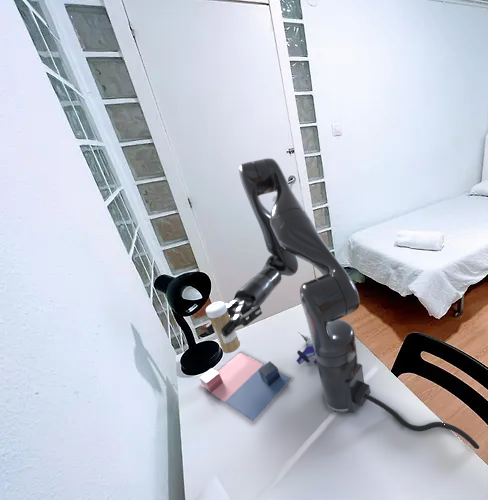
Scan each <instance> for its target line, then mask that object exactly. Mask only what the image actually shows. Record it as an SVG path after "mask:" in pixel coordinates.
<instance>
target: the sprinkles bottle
mask: <svg viewBox="0 0 488 500" xmlns="http://www.w3.org/2000/svg"><path fill="white" fill-rule="evenodd" d="M225 303H226V302H224V301H221V300H219V301H214V302H212V303H210V304H209V305H208V306H206V308H205V314H206V316H207V318H208V319H209V322H210V321H211V323H212V326H213V329H214V331H213V332H214V335H215V336H216V338H217V340H218V343H219V344H220V347H221V350H222V352H223V353H224V354H231V353H233V352H235V351H237V350H238V349H239V348H240V346H241V341H240V340H239V337H238V335H237V331H236V328H235V329H234V330H233V331H232V333H230V334H229V335H228V336H223V334H222V332H221V330H222V328H223V327H224V326H225V325H226V324H227V323H228V322H229V321H230V320H232V318H231V319H230V317H229V314H228V312H227V306H226V304H225Z"/></svg>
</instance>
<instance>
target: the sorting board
mask: <svg viewBox="0 0 488 500" xmlns="http://www.w3.org/2000/svg"><path fill="white" fill-rule="evenodd" d="M264 365H265V364H264V363H262V362H260V361H258V360H256V359H254V358H252V357H250V356H249V355H247V354H244V353H243V352H241V351H240V352H239V353H238V354H236V355H235V356H233V357H232V358H231V359H230V360H229V361H228V362H227V363H226V364H224V365H223V366H222V367H220V369H218V370H216V371H217V372H218V373H219V374H220V376H221V378H222V381H223V383H222V384H221V385H220V386H219V387H217V388H216V389H215V390H214V391H213V392H210V394H212V395H214V396H215V397H217V398H218V399H219V400H221V401H223V402H224V403H225V404H227V405H228V406H230V407H231V408H232V409H234V410H236V411H237V412H239V413H240V414H242V415H243V416H245V417H246V418H247V419H249V420H250V421H252V422H253V421H255V419H256V418H257V417H258V416H259V415H260V414H261V413H262V412H263V411H264V410H265V408H267V406H268V405H269V404H270V403H271V401H272V400H273V399H274V398H275V397H276V396H277V395H278V394H279V393H280V391H281V390H282V389H283V388H284V387H285V386H286V384H288V382H290V380H291V377H289V376H288V375H286V374H284V373H282V372H280V371H279V375H280V377H279V378H278V379H277V380H276V381H275V382H273V383H272V384H271V385H270V386H268V385H267V384H266V383H265V382H264V381H263V380H262V379H261V376H260V373H259V371H258V370H259V369H260V368H261V367H263V366H264ZM200 387H202V388H203V389H205V390H206V391H208V390H207V389H206V388H205V387H204V386H203V384H202V383H201V385H200Z"/></svg>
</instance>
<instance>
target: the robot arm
mask: <svg viewBox="0 0 488 500" xmlns="http://www.w3.org/2000/svg"><path fill="white" fill-rule="evenodd" d="M238 173H239V178H240V182H241V184H242V187H243V190H244V193H245V195H246V198H247V200H248V202H249V205H250V207H251V209H252V212H253V214H254V216H255V219H256V220H257V223H258V225H259V227H260V230H261V233H262V236H263V240H264V243H265V247H266V250H267V253H269V254H270V255H269V256H268V257H267V259H266V261H265V264H264V265H263V267H262V268H261V270H260V271H259V272H258V273H257V274H255V275H254V276H252V277H251V278H250V279H249V280H248V281H247V282H246V283H244V285H242V286H241V287H239V289H238V290H236V293H235V294H234V297H233V298H232V299H231V300H229V301H228V302H224V303H225V304H226V306H227V312H228V314H229V317H230V319H231V320H230V321H229V322H228V323H227V324H226V325H225V326H224V327H223V328H222V330H221V332H222V334H223V336H228V335H229V334H230V333H232V331H233V330H234V329H235V330H236V328H238V327H241V326H243V327H247V326H248V325H249V324H250V323H252V322H253V321H254V320H256V319H257V318H258V317H260V316H261V315H262V314H263V311H262V307H261V306H262V305H263V303H265V301H266V300H267V299H268V298H269V297H270V296H271V294H272V292H273V291H274V290H275V289H276V288H277V287H278V286H279V285H280V283H281V281H282V276H285V277H292V276H294V275H296V273H297V272H298V269H299V261H298V258H299V259H301V260H303V261H305V262H307V263H309V264H311V265H312V266H314V267H315V269H317V270H318V271H319V272H320V273H321V274H322V275H321V276H318V277H316V278H313V279H310V280H308V281H305V282H303V283H302V284H301V286H299V287H300V288H299V298H300V302H301V306H302V309H303V313H304V316H305V319H306V323H307V327H308V332H309V335H310V339H311V340H312V343H313V347H314V352H315V354H314V356H315V359H316V361H317V364H316V365H317V370H318V374H319V379H320V383H321V389H322V392H323V399H324V403H325V404H326V406H327V407H328V408H329V409H330V410H332V411H333V412H335V413H337V414H341V413H342V414H344V413H348V412H349V413H351V414H354V413H355V411H356V409H357V408H358V407H361V408H362V407H363V406H364V404H365V403H366V401H369V402H371V403H373V404H374V405H377V406H379V407H380V408H382V409H383V410H385V411H386V412H387V413H388V414H390V415H392V416H393V417H394V418H395V419H396V420H397V421H398V422H399V423H400V424H401V425H402V426H403V427H405V428H407V429H408V430H410V431H414V432H424V431H429V430H432V429H434V428H442V429H447V430H449V431H452V432H454V433H456V434H457V435H459V436H461V437H462V438H463V439H464V440H466V441H467V442H468V443H469V444H470V445H471V446H472V447H473V448H474V449H476V450H479V449H480V446H479V444H478V443H477V442H476V440H474V439H473V438H472V437H471V436H470V435H469V434H468V433H467V432H465V431H464V430H462V429H461V428H460V427H457V426H455V425H453V424H450V423H447V422H443V421H433V422H428V423H427V424H423V425H416V424H415V425H414V424H412V423H409V422H407V421H406V420H405V419H404V418H403V417H402V416H401V415H400V414H398V412H397V411H395V410H394V409H393V408H392V407H390V406H388V405H387V404H385V403H384V402H383V401H381V400H379V399H378V398H376V397H374V396H372V395H370V394H371V387H370V384H367V383H366V382H365V377H364V369H363V368H364V367H363V364H361V363H360V362H359V360H358V352H357V343H356V335H355V330H354V328H353V326H352V325H351V323H349V322H348V321H346V320H344V319H342V318H344V317H347V316H348V315H350V314H352V313H354V312H356V311H357V310H358V309H359V308H360V305H361V300H360V299H361V298H360V295H359V292H358V289H357V287H356V285H355V283H354V281H353V279H352V278H351V277H350V275H349V273H348V272H347V271H346V269H345V268H344V267H343V265H342V264H341V263H340V262H339V260H338V259H337V258H336V257H335V255H334V254H333V253H332V252H331V250H330V248H329V247H328V246H327V244H326V243H325V241H324V240H323V238H322V237H321V235H320V233H319V231H318V230H317V228H316V227H315V225H314V223H313V221H312V219H311V218H310V216H309V215H308V213H307V212H306V210H305V209H304V207H303V206H302V204H301V202H300V201H299V200H298V198H297V197H296V194H295V193H294V191H293V190H292V188H291V186H290V184H289V182H288V180H287V178H286V176H285V174H284V172H283V170H282V168H281V166H280V165H279V163H278V162H277V161H276V159H274V158H270V157H269V158H268V157H267V158H261V159H256V160H252V161H247V162H244V163H241V164H240V165H239V168H238ZM275 192H276V197H275V200H274V203H273V206H272V209H271V211H269V210H268V208H266V206H264V203H262V200H261V199H260V196H262V195H263V196H264V195H267V194H271V193H275ZM204 330H205V332H206V334H207V335H211V334H212V333H213V332H215V331H214V329H213V326H212V323H211V321H210V320H209V322H208V323H207V324H206V325H205V327H204ZM442 422H443V423H442ZM444 424H445V425H444Z"/></svg>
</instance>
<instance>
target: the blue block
mask: <svg viewBox="0 0 488 500" xmlns="http://www.w3.org/2000/svg"><path fill="white" fill-rule="evenodd" d="M258 371H259V373H260V376H261V379H262V380H263V381H264V382H265V383H266V384H267V385H268V386H270V385H271V384H272V383H273V382H275V381H276V380H277V379H278V378H279V377H280V375H279V372H280V371H279V368H278V366H277V365H275V364H274V363H273V362H272V361H270V360H269V361H267V363H266V364H264V366H263V367H261V368H260V369H259V370H258Z"/></svg>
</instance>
